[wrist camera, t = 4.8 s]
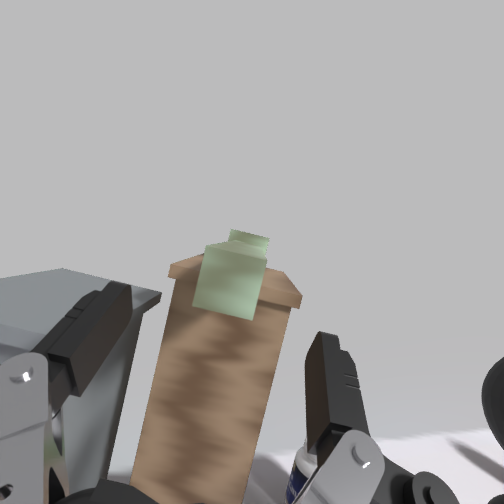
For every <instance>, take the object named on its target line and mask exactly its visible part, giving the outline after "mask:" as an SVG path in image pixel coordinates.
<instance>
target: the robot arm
mask: <svg viewBox="0 0 504 504" xmlns="http://www.w3.org/2000/svg"><path fill="white" fill-rule="evenodd" d="M132 313H133V304H132V287H131V285H129V284H125V283H120V282H116V281H110V282H109V283H108V284H107V285H106V286H105V287H104V288H103V290H102V291H98V290H94V291H92V292H90V293H88V294H86V295H85V296H83V297H81V299H80V300H79V301H78V302H77V303H76V304H75V305H74V306H73V308H72V309H70V310H69V311H68V312H67V313H66V314H65V317H63V318H62V319H61V320H60V321H59V322H58V323H57V324H56V325H55V326H54V327H53V328H52V329H51V330H50V331H49V332H48V334H47V335H46V336H45V337H44V338H43V339H42V340H41V341H40V342H39V343H38V344H37V345H36V346H35V347H34V348H33V349H32V350H31V351H30V352H29V353H23V354H19V355H16V356H14V357H12V358H10V359H8V360H7V361H5V362H4V363H3V364H0V504H159V503H158V502H156V501H155V500H153V499H152V498H150V497H149V496H147V495H146V494H144V493H143V492H141V491H140V490H138V489H137V488H135V487H134V486H131V485H126V484H122V483H118V482H114V481H110V480H106V479H102V478H100V479H99V481H98V483H97V485H96V488H89V489H85V490H81V491H78V492H76V493H73V494H71V495H69V481H68V473H67V468H66V462H65V444H64V421H63V403H64V402H65V401H66V399H67V398H68V396H69V395H73V396H77V397H81V395H82V394H83V392H84V391H85V389H86V388H87V386H88V385H89V383H90V382H91V380H92V379H93V377H94V376H95V374H96V373H97V371H98V370H99V368H100V367H101V365H102V364H103V362H104V360H105V359H106V357H107V356H108V354H109V353H110V351H111V350H112V348H113V347H114V345H115V344H116V342H117V341H118V339H119V338H120V336H121V335H122V333H123V332H124V330H125V329H126V327H127V326H128V324H129V322H130V320H131V317H132ZM359 388H360V386H359V381H358V379H357V371H356V366H355V363H354V361H353V360H352V358H351V356H350V354H349V353H348V352H347V351H343V350H340V344H339V338H338V336H337V335H333V334H329V333H325V332H320V331H319V332H318V333H317V335H316V337H315V339H314V341H313V343H312V345H311V347H310V349H309V351H308V353H307V356H306V360H305V395H306V427H307V453H308V454H312V455H316V456H317V467H316V469H315V470H314V472H313V473H312V475H311V476H310V478H309V479H308V480H307V482H306V483H305V485H304V486H303V488H302V489H301V491H300V492H299V494H298V495H297V497H296V498H295V500H294V501H293V503H292V504H459V502H458V500H457V498H456V496H455V495H454V493H453V492H452V490H451V489H450V488H449V486H448V485H447V484H446V483H445V482H444V481H443V480H441V479H440V478H439V477H437V476H436V475H434V474H432V473H429V472H419V473H417V474H416V475H413V474H412V473H410V472H408V471H407V470H405V469H403V468H402V467H400V466H398V465H397V464H395V463H394V462H392V461H390V460H389V459H388V458H386V457H385V456H384V455H383V454H382V452H381V450H380V448H379V446H378V445H377V444H376V442H375V441H374V440H373V439H372V438H371V436H370V434H369V430H368V425H367V421H366V416H365V411H364V406H363V401H362V396H361V391H360V390H359ZM482 405H483V410H484V414H485V417H486V419H487V422H488V425H489V427H490V429H491V431H492V433H493V434H494V436H495V438H496V440H497V441H498V443H499V444H500V446H501V447H502V448H503V450H504V357H503V358H502V359H500V360H499V361H498V362H497V363H495V364H494V366H493V367H492V368H491V369H490V370H489V372H488V374H487V376H486V378H485V380H484V383H483V386H482ZM194 504H205V503H194ZM488 504H504V494H502V495H498V496H496V497H494V498H492V499H491V500H490V501H489V502H488Z"/></svg>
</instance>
